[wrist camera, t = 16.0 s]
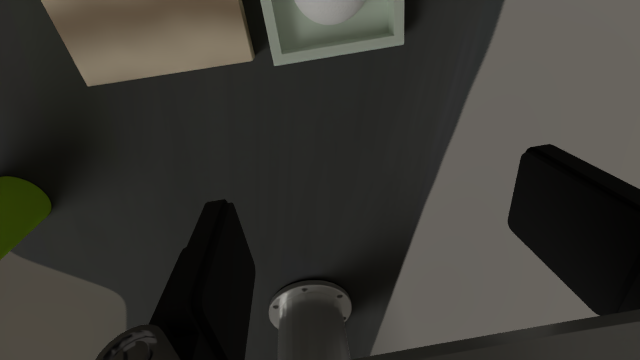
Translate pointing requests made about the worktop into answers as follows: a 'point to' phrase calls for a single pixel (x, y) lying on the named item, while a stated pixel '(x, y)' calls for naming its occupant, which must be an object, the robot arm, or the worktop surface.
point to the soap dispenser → (19, 211)
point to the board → (150, 36)
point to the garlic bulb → (329, 10)
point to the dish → (331, 31)
